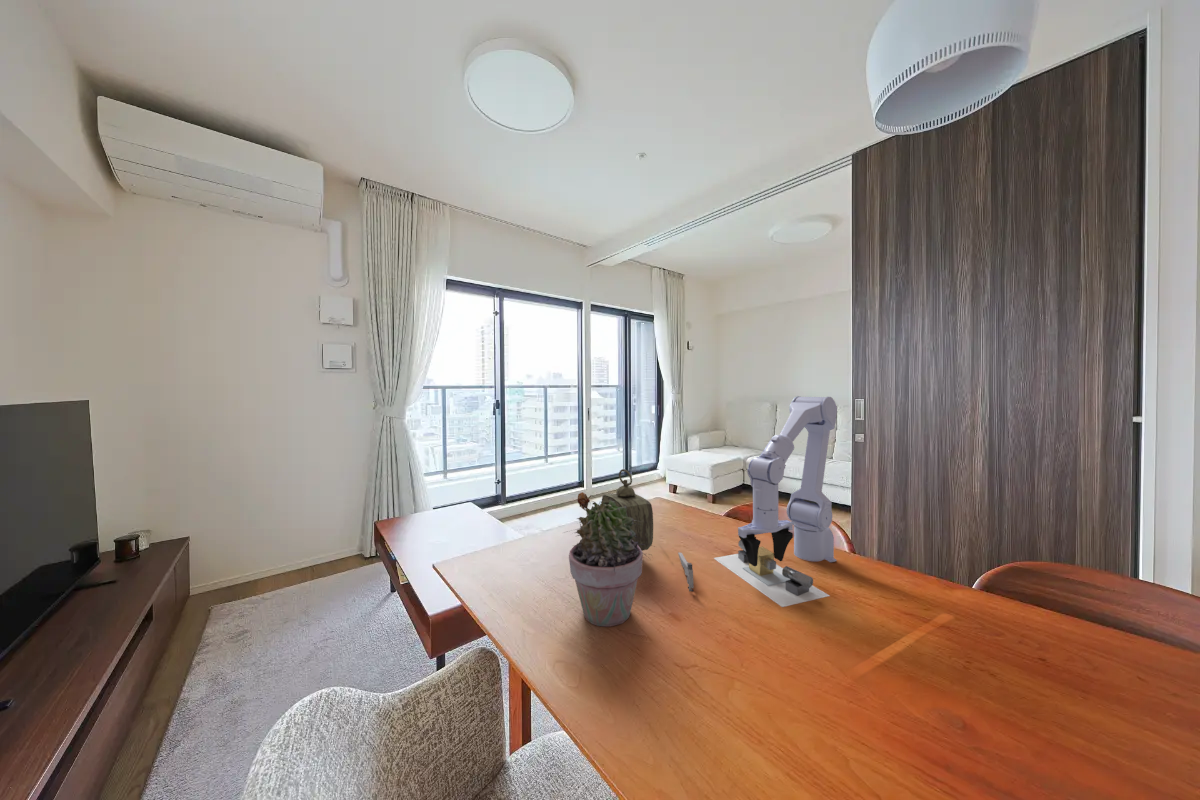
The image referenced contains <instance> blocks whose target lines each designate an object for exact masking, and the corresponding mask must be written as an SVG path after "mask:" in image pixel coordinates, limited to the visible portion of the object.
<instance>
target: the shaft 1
mask: <svg viewBox="0 0 1200 800" xmlns="http://www.w3.org/2000/svg"><path fill="white" fill-rule="evenodd" d="M738 547H739V548H741V550H737V552H738V553H737V554H738V558H739V559H740V560H741V561H742V562H743V563H748V562H749V561H748V557H747V553H746V550H745V547H744V545H743V543H742V541H741V539H740V540H739V541H738Z"/></svg>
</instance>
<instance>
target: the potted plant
mask: <svg viewBox="0 0 1200 800" xmlns="http://www.w3.org/2000/svg"><path fill="white" fill-rule="evenodd" d="M591 497H593V498H595V499H596V497H595V496H593V495H592V494H590V496H589V497H588V496H587V494H586V493H585V492H583V491H581V492H580V493H578V495H577V503H578V505H579V507H580V508H581V509H583V510H584V511H585V513H586V517H582V516H579V517H577V518H576V520H578V521H579V522H578V524H579V526H580V527H579V528H578V529H577V528H576V529H574V531H575V532H573V533H574V534H577V535H576V537H579V536H580V538H581V539H580V541H579V542H577V543H576V544H574V545H572V547H571V549H570V550H569V552H568V560H569V569H570V574H571V577H572V579H574V580H575V581H574V582H575V585H576V589H577V593H578V598H579V600H580V605H581V609H582V612H583V617H584V618H585V620H586V621H587V622H588V623H590V624H591V625H594V626H597V627H606V628H609V627H614V626H619V625H622V624H624V623H625V622H626V621H627V620H628V619H629V618H630V615H631V611H632V607H633V603H634V598H635V593H636V588H637V585H638V584H637V582H638V579H639V578H640V577H641V576H642V571H643V558H644V557H643V556H646V553H644V552H643V551H642V550H641V549H640V547H639V546H638V545H645V544H638V541H637V542H634V541H633V540H632V538H633V537H635V538H636V537H637V536H635V535H636V533H635V532H634V531H633V530H631V529H630V527H631V526H633V525H632V524H636V523H633V521H636V520H633V518H630V517H628V516H627V513H626V511H627V508H626V507H617V506H616V504H615V502H614V501H612V500H609V504H608V505H606V504H605V503H604V502H603V500H602V499H601V501H599V503H597V502H596V501H593V500H590V498H591ZM591 502H592V506H591V509H590V508H588V507H589V503H591ZM640 522H641V521H640ZM646 523H647V522H646ZM638 525H640V524H638ZM642 526H643V525H642ZM645 527H646V526H645ZM648 528H649V527H648ZM571 531H573V530H572V529H571V530H570V532H571ZM567 532H569V530H568V531H564V532H563V534H565V533H567ZM573 533H572V534H573ZM572 534H571V535H572ZM639 538H640V537H639ZM638 540H639V539H638ZM650 547H652V545H650ZM655 547H656V548H657V546H655V545H654V548H655ZM649 555H651V556H652V558H653V555H652V554H650V553H649ZM648 559H649V560H650V561H651V558H650V557H648Z"/></svg>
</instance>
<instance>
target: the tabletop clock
mask: <svg viewBox="0 0 1200 800" xmlns="http://www.w3.org/2000/svg"><path fill="white" fill-rule="evenodd" d="M623 472H624V473H626V474H627V475H628V477H629V479H630V480H629V481H630V482H629V483H628V480H627V479H624V480H623V479H622V473H623ZM618 478H619V481H620V483H621V484H623V485H621V486H619V487H618V488H617V490H616V492H615V493H610V494H603V495H602V497H601V501H602V500H603V502H604V503H605V504H606V505H608V504H609V500H612V501H614V502H615V504H616V506H617V507H626V508H627V511H626V513H627V516H628V517H630V518H633V520H636V521H633V523H636V524H632V525H633V526H631V527H630V529H631V530H633V531H634V532H635V533H636V535H635V536H637V537H636V538H635V537H633V538H632V540H633V541H634V542H637V541H638V544H645V545H638V546H639V547H640V549H641V550H642V552H643V551H647V550H649V549H650V547H651V546H653V543H654V512H653V506H652V503H651V502H650V501H649V500H648V499H646V498H644V497H643V496H641V495H638V494H636V493H635V490H634V489H633V487H631V485H632V484H633V478H632V475H631V473H630V472H629V470H627V469H625V468H622V469H621V470H619V473H618ZM640 521H641V522H640ZM646 522H647V523H646ZM638 524H640V525H638ZM642 525H643V526H642ZM645 526H646V527H645ZM648 527H649V528H648ZM639 537H640V538H639ZM638 539H639V540H638ZM650 545H651V546H650Z"/></svg>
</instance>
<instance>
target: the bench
mask: <svg viewBox="0 0 1200 800" xmlns="http://www.w3.org/2000/svg"><path fill="white" fill-rule="evenodd" d="M713 559H714V560H715V561H717V562H718V563H719V564H721V565H722V566H723V567H725V568H726V569H728V570H729V571H730V572H732V573H733V574H734V575H737V576H738V577H739V579H742V580H743V581H745V582H746V583H748V585H750V586H752V588H754V589H756V590H757V591H759V592H760V593H761V594H763V595H764V596H766V597H767V598H769V599H770V600H772V602H774V603H776V604H777V605H778V606H780V607H781V608H786V607H789V606H793V605H797V604H802V603H805V602H810V601H815V600H819V599H823V598H827V597H831V595H829V594H828V593H827V592H824V591H823V590H821V589H819V588H818V587H816V586H814V584H813V585H812V586H811V587H810V588H809V592H806V593H804V594H801V595H799V596H796V595H795V594H793V593H791V592H789V591H787V590H786V581H788V580H790V579H788V578H786V577H784V576H783V575H782V570H783V568H784V567H781V566H780V565H779V564H777V563H776V569H773V573H772V574H767V575H762V576H759V575H758V574H757V573H755V572H754V571H752V570H751V569H750V568H749V562H748V563H743V562H742V561H741V560H740V559H739V558H738V553H734V554H729V555H723V556H722V555H721V556H718V557H717V556H716V557H713Z"/></svg>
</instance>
